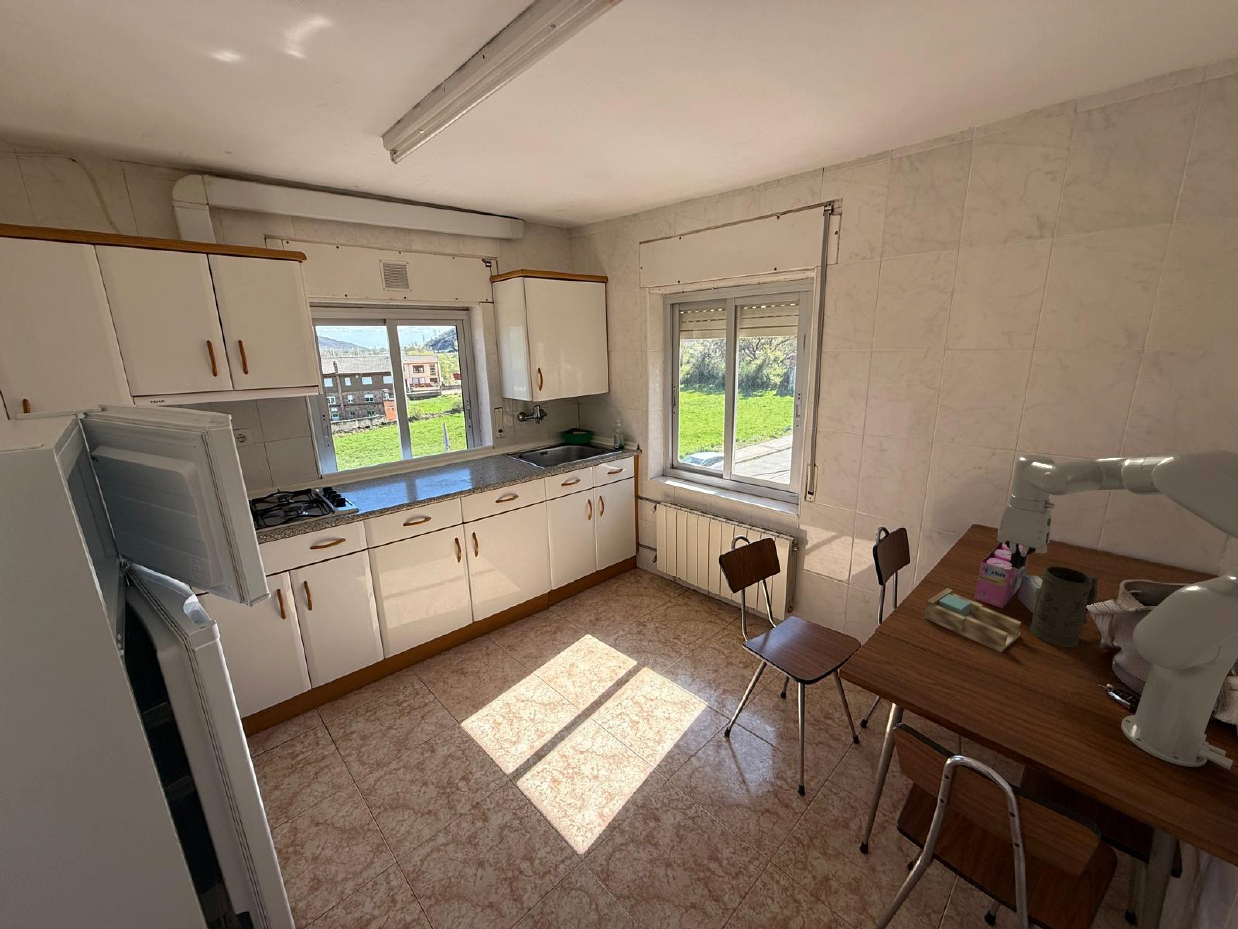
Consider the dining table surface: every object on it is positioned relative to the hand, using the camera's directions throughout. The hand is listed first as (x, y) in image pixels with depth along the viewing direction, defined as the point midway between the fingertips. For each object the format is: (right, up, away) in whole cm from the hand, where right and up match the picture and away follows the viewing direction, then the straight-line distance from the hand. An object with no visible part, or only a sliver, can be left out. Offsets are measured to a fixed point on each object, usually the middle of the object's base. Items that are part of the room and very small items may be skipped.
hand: (1017, 566), depth 133 cm
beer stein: (+19, -21, +8) cm, 29 cm away
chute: (-3, -21, +13) cm, 25 cm away
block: (-6, -18, +17) cm, 26 cm away
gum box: (+19, -14, +30) cm, 38 cm away
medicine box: (+22, -17, +21) cm, 35 cm away
